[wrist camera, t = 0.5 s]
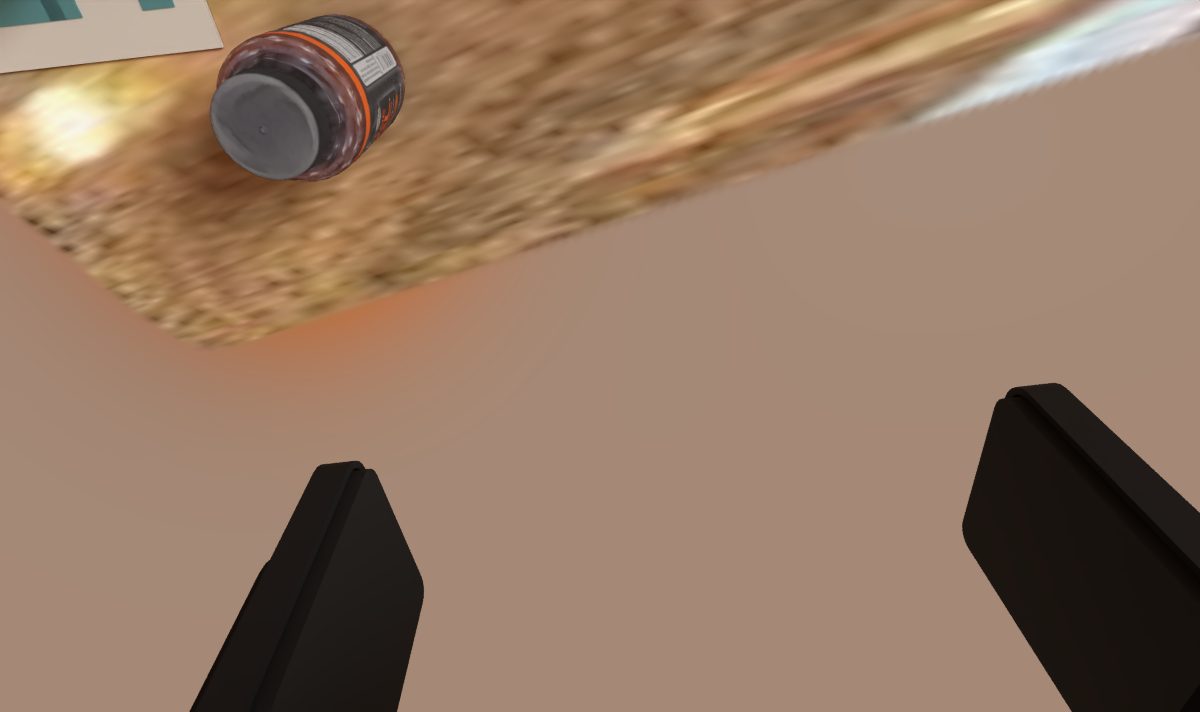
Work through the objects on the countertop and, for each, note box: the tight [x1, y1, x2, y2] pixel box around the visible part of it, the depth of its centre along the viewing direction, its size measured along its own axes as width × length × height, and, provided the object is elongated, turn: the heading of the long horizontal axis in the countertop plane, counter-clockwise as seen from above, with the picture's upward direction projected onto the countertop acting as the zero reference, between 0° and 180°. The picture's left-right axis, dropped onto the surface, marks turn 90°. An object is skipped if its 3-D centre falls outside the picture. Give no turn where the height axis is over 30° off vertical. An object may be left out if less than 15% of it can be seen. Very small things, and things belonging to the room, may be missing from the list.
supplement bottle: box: [210, 14, 405, 182], centre depth 29 cm, size 6×6×11 cm
